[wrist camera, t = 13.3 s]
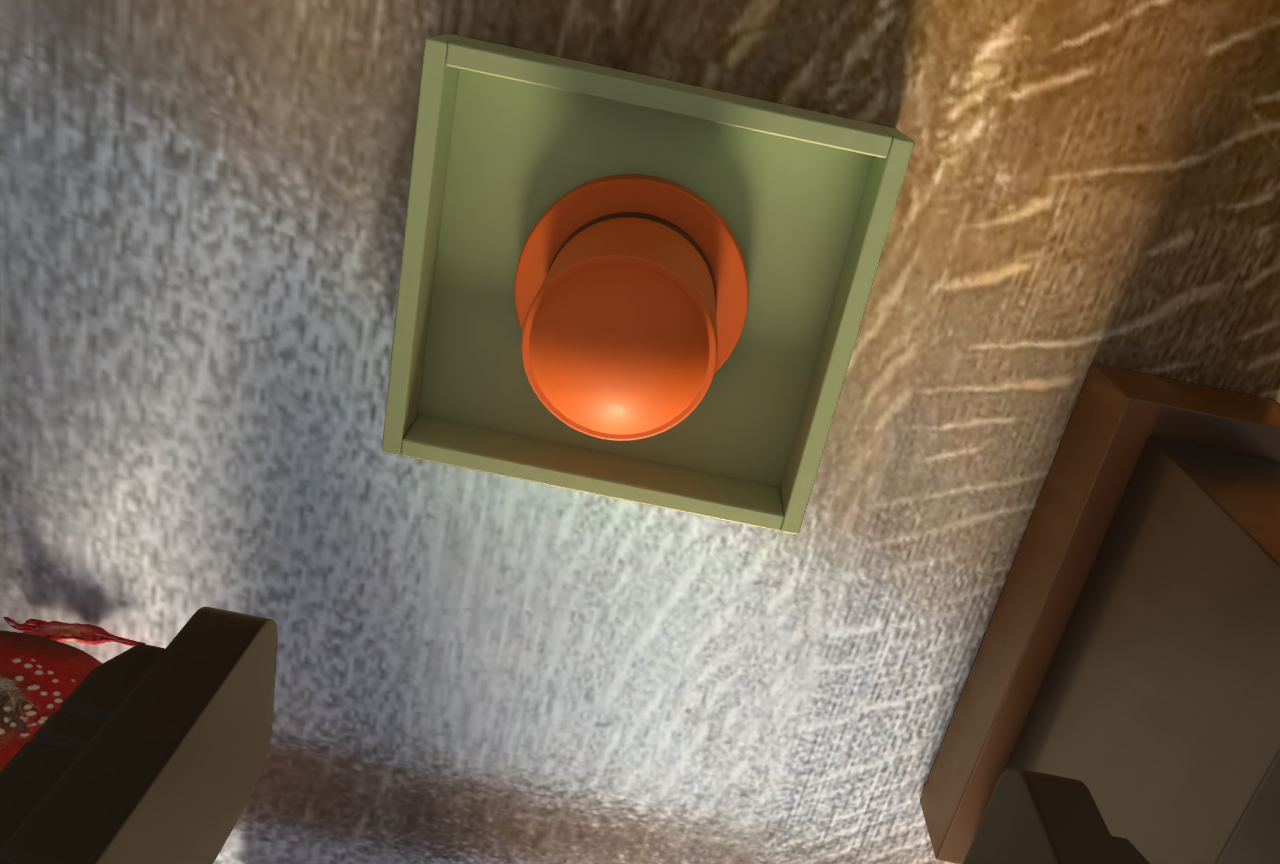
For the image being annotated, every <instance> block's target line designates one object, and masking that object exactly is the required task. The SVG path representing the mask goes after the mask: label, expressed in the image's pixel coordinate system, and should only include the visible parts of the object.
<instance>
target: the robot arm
mask: <svg viewBox="0 0 1280 864" xmlns="http://www.w3.org/2000/svg"><path fill="white" fill-rule="evenodd" d="M277 639H278V632H277V625H276V623H275V621H274V620H272V619H267V618H262V617H257V616H252V615H247V614H242V613H237V612H231V611H226V610H221V609H216V608H211V607H202V608H200V609H199V610H198V611H197V612H196V613H195V614H194V615H193V616H192V617H191V619H190V620H189V621H188V622H187V623H186V625H185V626H184V627H183V628H182V629H181V631H180V632H179V633H178V634H177V636H176V637H175V638H174V639H173V640H172V642H171V643H170V644H169V645H168V646H167V648H166V649H165V648H160V647H155V646H149V645H144V644H138V645H136V646H134V647H132V648H130V649H129V650H127V651H125V652H123V653H121V654H120V655H118V656H116V657H114V658H112V659H111V660H109V661H107V662H105V663H103V664H102V665H100V666H98V667H96V668H94V669H93V670H92V671H91V672H90V673H89V674H88V675H87V676H86V677H85V678H84V679H83V681H82V682H81V683H80V684H79V685H78V686H77V687H76V688H75V689H74V690H73V692H72V693H71V694H70V695H69V696H68V697H67V698H66V699H65V700H64V701H63V703H62V704H61V707H60V710H59V711H58V712H54V713H53V714H52V715H51V716H50V717H49V718H48V719H47V720H46V721H45V722H44V724H43V725H42V726H41V727H40V728H39V729H38V730H37V731H36V732H35V733H34V738H33V740H32V741H31V742H28V741H27V742H26V743H25V744H24V746H23V747H22V748H21V749H20V750H19V751H18V752H17V753H16V754H15V755H14V757H13V758H12V759H11V760H10V761H9V762H8V763H7V764H6V765H5V766H4V768H3V769H2V770H1V771H0V864H213V863H214V861H215V859H216V858H217V856H218V854H219V852H220V851H221V849H222V847H223V845H224V843H225V842H226V840H227V838H228V836H229V835H230V833H231V831H232V829H233V828H234V826H235V824H236V822H237V821H238V819H239V817H240V815H241V814H242V812H243V810H244V808H245V807H246V805H247V803H248V801H249V799H250V798H251V796H252V794H253V792H254V790H255V788H256V786H257V784H258V782H259V779H260V777H261V774H262V771H263V768H264V765H265V762H266V759H267V755H268V751H269V746H270V741H271V734H272V721H273V705H274V689H275V672H276V656H277ZM963 864H1150V863H1149V862H1148V861H1147V860H1146V859H1145V857H1144V856H1143V855H1142V854H1141V853H1140V852H1139V851H1138V850H1137V849H1136V848H1135V847H1134V845H1133V844H1132V843H1131V842H1130V841H1129V840H1128V839H1125V838H1120V837H1115V836H1111V835H1110V832H1109V830H1108V828H1107V826H1106V824H1105V822H1104V820H1103V818H1102V816H1101V813H1100V811H1099V809H1098V807H1097V805H1096V803H1095V801H1094V799H1093V797H1092V795H1091V793H1090V791H1089V789H1088V787H1087V786H1086V785H1085V784H1084V783H1083V782H1082V781H1080V780H1076V779H1071V778H1066V777H1061V776H1056V775H1051V774H1046V773H1041V772H1036V771H1030V770H1025V769H1020V768H1015V767H1010V768H1008V769H1006V770H1005V771H1004V772H1003V773H1002V774H1001V776H1000V777H999V779H998V782H997V784H996V786H995V788H994V791H993V793H992V795H991V798H990V800H989V803H988V805H987V807H986V810H985V812H984V814H983V817H982V819H981V821H980V824H979V826H978V829H977V831H976V833H975V836H974V838H973V840H972V843H971V845H970V847H969V850H968V852H967V855H966V857H965V859H964V862H963Z"/></svg>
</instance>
